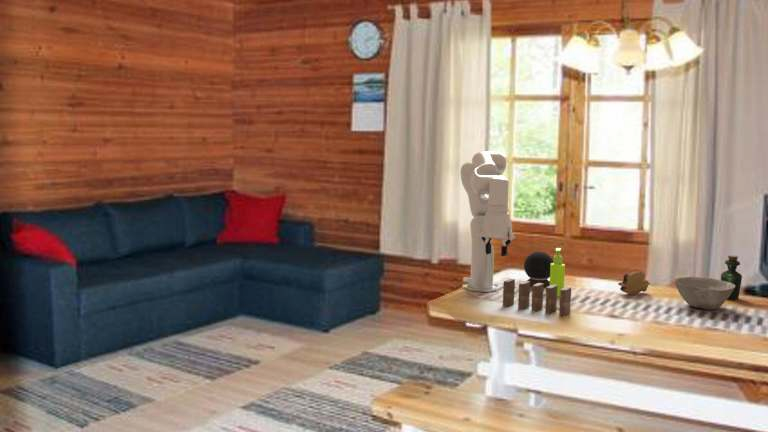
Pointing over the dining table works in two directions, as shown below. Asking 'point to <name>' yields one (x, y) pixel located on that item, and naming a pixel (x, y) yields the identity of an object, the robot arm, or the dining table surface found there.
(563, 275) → the soap dispenser
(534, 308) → the domino
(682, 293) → the ceramic bowl
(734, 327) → the dining table surface
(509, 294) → the domino
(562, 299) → the domino
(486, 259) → the robot arm
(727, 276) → the potion bottle
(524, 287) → the domino
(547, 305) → the domino
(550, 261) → the black ball on stand
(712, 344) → the dining table surface
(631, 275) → the wooden carving
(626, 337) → the dining table surface
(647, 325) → the dining table surface
